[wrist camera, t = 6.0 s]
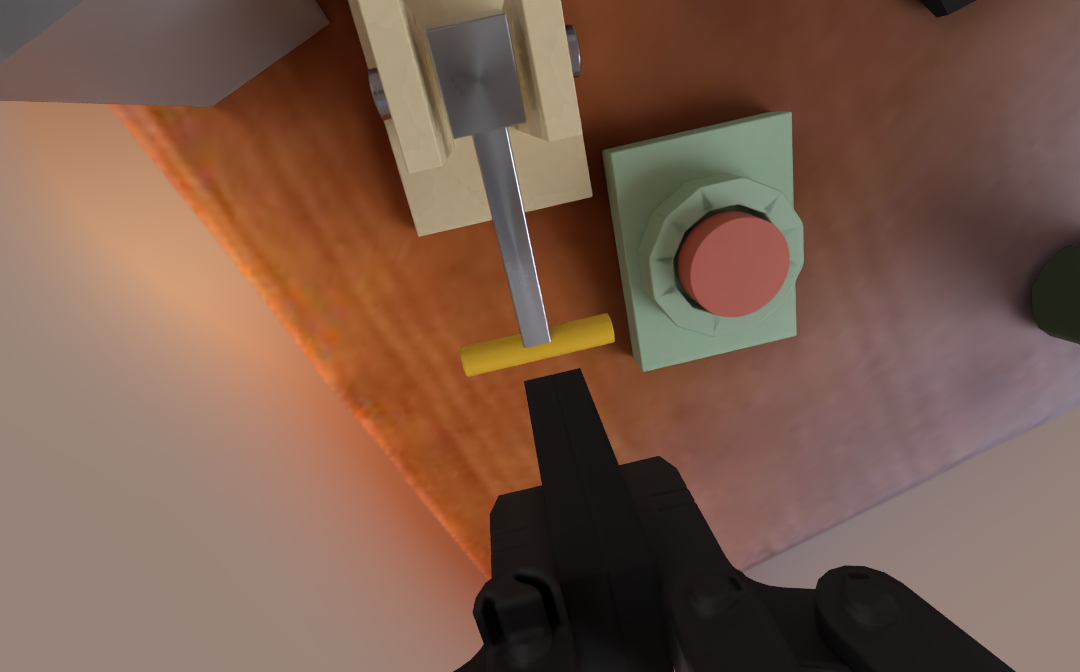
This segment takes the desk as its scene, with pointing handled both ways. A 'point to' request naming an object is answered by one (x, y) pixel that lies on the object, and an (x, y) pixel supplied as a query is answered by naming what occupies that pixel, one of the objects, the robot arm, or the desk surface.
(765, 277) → the button
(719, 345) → the button box
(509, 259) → the t-handle lever
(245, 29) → the perfume bottle
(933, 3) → the remote control
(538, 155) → the bracket
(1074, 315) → the character mug
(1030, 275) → the desk surface
